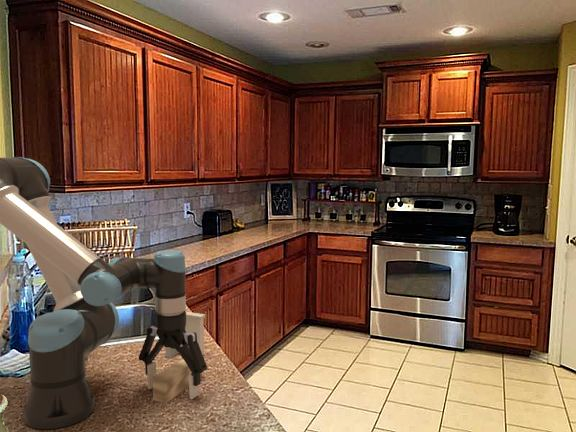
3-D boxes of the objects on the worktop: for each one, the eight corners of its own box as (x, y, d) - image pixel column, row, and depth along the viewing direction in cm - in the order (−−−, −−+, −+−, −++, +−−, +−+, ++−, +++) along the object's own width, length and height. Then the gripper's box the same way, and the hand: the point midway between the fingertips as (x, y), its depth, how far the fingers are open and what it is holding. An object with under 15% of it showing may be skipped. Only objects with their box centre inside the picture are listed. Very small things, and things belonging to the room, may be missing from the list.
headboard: (194, 362, 143) (193, 320, 141) (164, 356, 147) (163, 315, 146) (205, 355, 149) (205, 314, 147) (176, 349, 153) (175, 309, 151)
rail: (166, 403, 119) (165, 380, 118) (153, 400, 121) (152, 377, 120) (202, 377, 134) (202, 356, 133) (190, 374, 135) (190, 354, 135)
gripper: (220, 313, 120) (221, 394, 123) (142, 301, 130) (144, 377, 133) (203, 322, 114) (204, 408, 116) (122, 309, 123) (125, 388, 126)
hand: (172, 391), depth 124 cm, fingers open, 12 cm apart
